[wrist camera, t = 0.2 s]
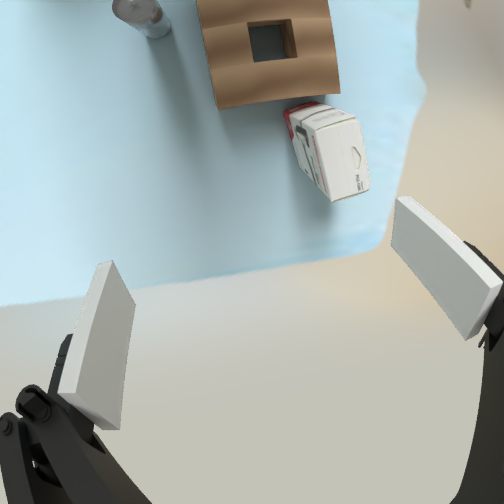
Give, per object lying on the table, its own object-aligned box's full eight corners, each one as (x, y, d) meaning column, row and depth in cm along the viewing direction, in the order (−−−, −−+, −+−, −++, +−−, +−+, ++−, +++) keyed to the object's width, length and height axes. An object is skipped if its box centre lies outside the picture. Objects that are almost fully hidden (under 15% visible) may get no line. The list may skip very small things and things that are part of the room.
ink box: (281, 110, 35) (312, 127, 25) (316, 100, 35) (358, 114, 25) (298, 169, 40) (331, 206, 30) (330, 158, 40) (371, 191, 30)
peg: (142, 19, 25) (109, -7, 14) (168, 12, 25) (149, -20, 14) (146, 41, 27) (115, 25, 16) (172, 34, 27) (155, 12, 16)
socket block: (196, 3, 25) (195, -7, 21) (309, -8, 26) (324, -16, 22) (216, 105, 33) (218, 109, 29) (324, 90, 34) (340, 93, 30)
